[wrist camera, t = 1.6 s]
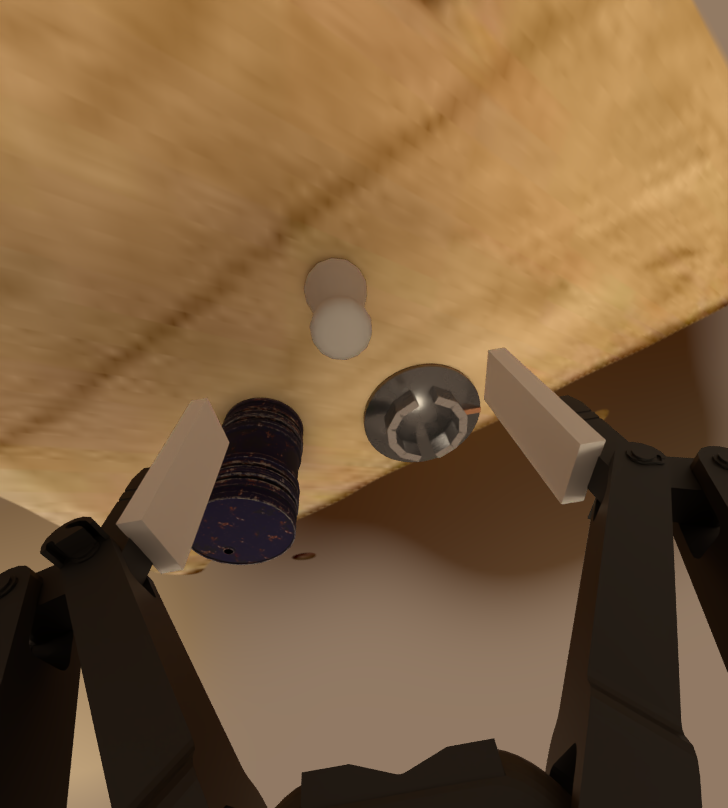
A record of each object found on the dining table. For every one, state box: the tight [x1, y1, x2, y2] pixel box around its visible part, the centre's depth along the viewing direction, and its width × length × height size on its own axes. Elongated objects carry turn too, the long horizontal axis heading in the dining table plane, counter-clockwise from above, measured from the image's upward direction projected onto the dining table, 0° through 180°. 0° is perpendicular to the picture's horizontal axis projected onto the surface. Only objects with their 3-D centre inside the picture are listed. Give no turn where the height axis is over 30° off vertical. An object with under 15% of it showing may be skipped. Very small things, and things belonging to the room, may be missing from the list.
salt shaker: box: [304, 258, 372, 360], centre depth 27 cm, size 6×6×13 cm
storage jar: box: [191, 398, 303, 565], centre depth 35 cm, size 10×10×15 cm
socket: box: [364, 364, 481, 462], centre depth 42 cm, size 15×15×3 cm
